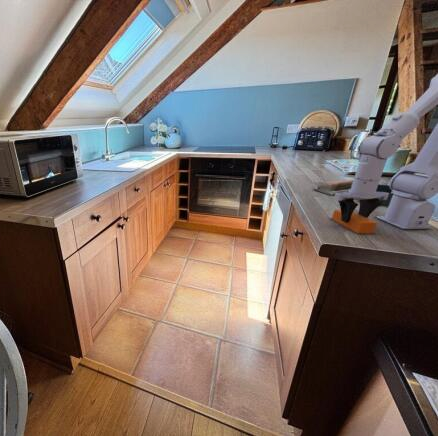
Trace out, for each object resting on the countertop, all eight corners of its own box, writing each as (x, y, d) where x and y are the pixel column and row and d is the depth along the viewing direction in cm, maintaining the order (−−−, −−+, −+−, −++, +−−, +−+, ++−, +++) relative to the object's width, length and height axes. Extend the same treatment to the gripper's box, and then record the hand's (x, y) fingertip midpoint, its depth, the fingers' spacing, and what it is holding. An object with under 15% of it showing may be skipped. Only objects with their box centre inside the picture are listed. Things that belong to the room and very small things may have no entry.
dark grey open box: (401, 207, 91) (406, 195, 89) (360, 202, 97) (365, 190, 95) (393, 197, 102) (397, 186, 100) (357, 193, 108) (361, 182, 106)
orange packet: (373, 233, 72) (377, 222, 71) (357, 233, 72) (361, 222, 71) (345, 219, 82) (348, 209, 81) (331, 219, 82) (334, 209, 81)
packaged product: (335, 185, 103) (314, 180, 112) (332, 196, 105) (311, 190, 114) (365, 181, 108) (343, 176, 117) (362, 191, 110) (340, 186, 119)
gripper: (379, 175, 75) (365, 215, 80) (332, 176, 75) (321, 216, 80) (401, 180, 68) (384, 224, 74) (350, 181, 68) (336, 225, 74)
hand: (352, 221), depth 76 cm, fingers closed on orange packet, 4 cm apart
